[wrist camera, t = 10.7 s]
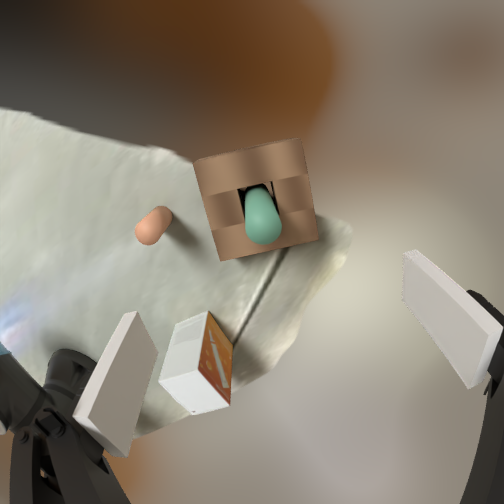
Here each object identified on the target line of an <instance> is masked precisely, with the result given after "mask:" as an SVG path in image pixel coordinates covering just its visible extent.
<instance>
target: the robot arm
mask: <svg viewBox="0 0 504 504" xmlns="http://www.w3.org/2000/svg"><path fill="white" fill-rule="evenodd" d="M402 292H403V293H402V301H403V302H404V303H405V305H406V306H407V307H408V308H409V309H410V311H411V312H412V313H413V314H414V316H415V317H416V318H417V320H418V321H419V322H420V323H421V325H422V326H423V327H424V328H425V330H426V331H427V332H428V334H429V335H430V336H431V338H432V339H433V340H434V342H435V343H436V344H437V346H438V347H439V348H440V349H441V351H442V352H443V354H444V355H445V356H446V358H447V359H448V361H449V362H450V363H451V365H452V366H453V368H454V369H455V370H456V372H457V373H458V375H459V376H460V378H461V379H462V380H463V382H464V383H465V385H466V386H467V388H468V389H470V388H472V387H474V386H475V385H477V384H479V383H481V382H483V380H484V377H485V375H486V372H487V371H488V372H489V373H490V375H491V379H490V381H489V383H488V385H487V387H486V389H485V391H484V395H486V393H487V391H488V396H487V403H486V410H485V415H484V421H483V426H482V431H481V435H480V440H479V444H478V448H477V452H476V456H475V459H474V463H473V466H472V469H471V473H470V476H469V479H468V482H467V485H466V488H465V491H464V494H463V496H462V499H461V502H460V504H504V316H503V315H502V314H501V313H500V312H499V311H498V310H497V309H496V308H495V307H493V305H491V304H490V302H488V301H487V300H486V299H485V298H484V297H483V296H482V295H481V294H479V293H477V292H475V291H472V290H468V291H465V290H464V289H463V288H461V287H460V286H459V285H458V284H457V283H456V282H455V281H453V280H452V279H451V278H450V277H449V276H447V275H446V274H445V273H444V272H443V271H442V270H441V269H439V268H438V267H437V266H436V265H435V264H433V263H432V262H431V261H430V260H429V259H427V258H426V257H425V256H424V255H422V254H421V253H420V252H419V251H417V250H413V251H409V252H405V253H403V291H402ZM157 355H158V351H157V349H156V347H155V345H154V343H153V341H152V340H151V338H150V336H149V334H148V332H147V330H146V328H145V326H144V324H143V322H142V320H141V318H140V315H139V313H138V311H135V312H129V313H125V314H124V315H123V317H122V319H121V321H120V322H119V324H118V326H117V328H116V330H115V331H114V333H113V335H112V337H111V339H110V341H109V343H108V344H107V346H106V348H105V350H104V352H103V354H102V356H101V358H100V360H99V362H98V363H95V362H94V361H93V360H91V359H90V358H88V357H87V356H85V355H83V354H81V353H79V352H76V351H73V350H69V349H60V350H57V351H56V352H55V353H54V354H53V355H52V357H51V358H50V360H49V363H48V369H47V374H46V379H45V384H44V386H43V387H41V386H40V385H39V384H38V383H37V382H36V381H35V380H34V379H33V378H32V377H31V376H30V374H29V373H28V372H27V371H26V370H25V369H24V368H23V367H22V366H21V365H20V364H19V362H18V361H17V360H16V359H15V358H14V357H13V356H12V353H11V352H10V351H8V350H7V349H6V348H5V347H4V346H3V344H2V343H1V342H0V435H4V434H5V433H6V432H7V430H8V429H9V430H10V431H11V432H13V433H14V434H15V435H14V438H13V444H12V455H11V468H10V504H131V503H130V501H129V500H128V498H127V496H126V494H125V493H124V491H123V489H122V488H121V486H120V484H119V482H118V480H117V479H116V477H115V475H114V473H113V471H112V469H111V467H110V465H109V463H108V462H107V460H106V458H105V457H104V456H103V455H102V454H103V451H104V449H105V450H106V451H107V452H108V453H110V455H112V456H116V457H126V458H127V457H128V454H129V450H130V446H131V442H132V439H133V435H134V432H135V428H136V424H137V421H138V417H139V414H140V410H141V407H142V404H143V400H144V397H145V394H146V390H147V387H148V384H149V381H150V377H151V374H152V371H153V368H154V365H155V362H156V358H157ZM40 469H41V470H42V471H43V472H44V475H45V476H44V477H42V476H41V474H40Z"/></svg>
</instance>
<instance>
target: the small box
mask: <svg viewBox="0 0 504 504" xmlns="http://www.w3.org/2000/svg"><path fill="white" fill-rule="evenodd" d="M232 354H233V345H232V344H231V342H230V341H229V340H228V339H227V337H226V336H225V335H224V333H223V332H222V330H221V329H220V327H219V326H218V325H217V323H216V322H215V320H214V319H213V317H212V316H211V314H210V313H209V311H205V312H203V313H201V314H198V315H196V316H194V317H191V318H189V319H186V320H184V321H181V322H179V323H177V324H176V325H175V328H174V331H173V334H172V337H171V340H170V344H169V347H168V350H167V354H166V357H165V360H164V363H163V367H162V370H161V374H160V377H159V380H158V382H159V383H160V384H161V385H162V387H163V388H164V389H165V390H166V391H167V392H168V393H169V394H170V395H171V396H172V397H173V398H174V399H175V400H176V401H177V402H178V403H179V404H180V405H182V406H183V407H184V408H185V409H186V410H187V411H188V412H189V413H190V414H191V415H196V414H201V413H205V412H209V411H213V410H217V409H221V408H224V407H227V406H230V395H231V374H232Z"/></svg>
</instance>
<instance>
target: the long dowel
mask: <svg viewBox="0 0 504 504" xmlns="http://www.w3.org/2000/svg"><path fill="white" fill-rule="evenodd" d="M245 230H246V234H247V236H248V237H249V239H250V240H251V241H253V242H255V243H257V244H261V245H265V244H270V243H272V242H274V241H275V240H276V239H277V238H278V237H279V235H280V233H281V230H282V224H281V221H280V218H279V216H278V213H277V211H276V208H275V206H274V203H273V201H272V198H271V196H270V193H269V191H268V189H267V187H266V186H265V185H264V184H263V183H261V184H256V185H252V186H248V187H247V188H246V190H245Z"/></svg>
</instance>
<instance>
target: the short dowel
mask: <svg viewBox="0 0 504 504" xmlns="http://www.w3.org/2000/svg"><path fill="white" fill-rule="evenodd" d="M171 222H172V213H171V211H170V210H169V209H168V208H167V207H164V206H158V207H156V208H155V209H153V210H152V211H151V212H150V213H149V214H148V215H147V216H146V217H144V218H143V219H142V220H141V221H140V222H139V223H138V224H137V226H136V228H135V235H136V237H137V239H138V240H139V242H141V243H142V244H144V245H153V244H155V243H156V242H157V241H158V240H159V238H160V237H161V236H162V234H163V233H164V231H165V230H166V229H167V227H168V226H169V225H170V223H171Z"/></svg>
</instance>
